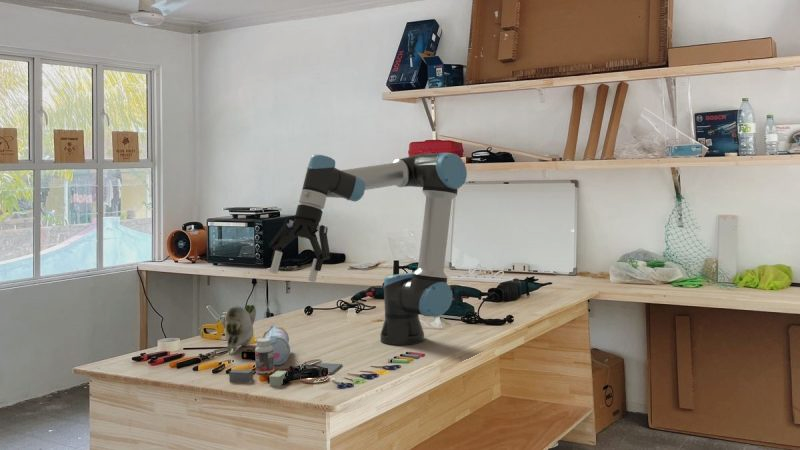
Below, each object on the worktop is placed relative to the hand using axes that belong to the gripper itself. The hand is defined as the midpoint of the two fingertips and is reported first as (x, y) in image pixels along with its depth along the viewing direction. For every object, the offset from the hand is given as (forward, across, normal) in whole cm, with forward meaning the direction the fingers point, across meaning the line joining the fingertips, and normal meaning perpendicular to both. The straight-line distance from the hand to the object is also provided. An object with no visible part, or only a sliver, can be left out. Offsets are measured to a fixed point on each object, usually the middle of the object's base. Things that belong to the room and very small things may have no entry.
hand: (292, 277), depth 236 cm
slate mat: (+24, +7, +17) cm, 31 cm away
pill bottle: (+29, -7, +10) cm, 31 cm away
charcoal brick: (+32, -8, 0) cm, 33 cm away
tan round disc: (+27, +12, +7) cm, 30 cm away
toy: (+26, -34, +33) cm, 54 cm away
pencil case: (+26, -14, +24) cm, 38 cm away
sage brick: (+30, +4, +1) cm, 31 cm away
